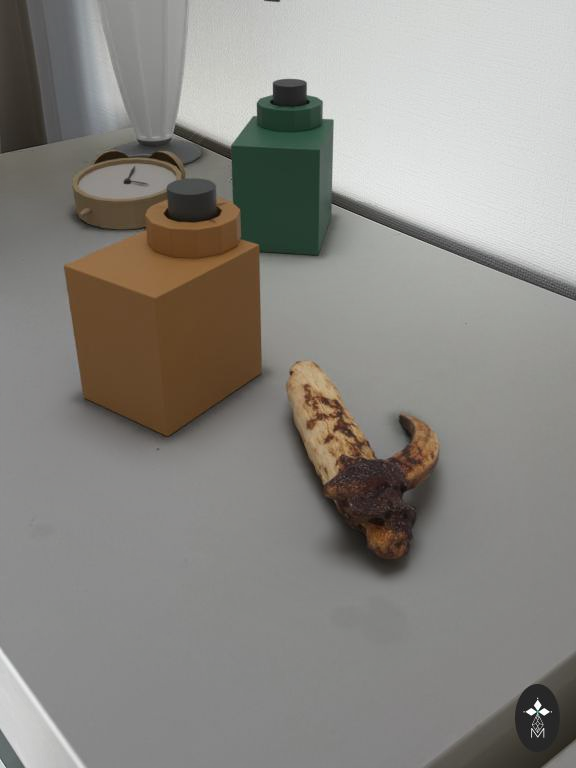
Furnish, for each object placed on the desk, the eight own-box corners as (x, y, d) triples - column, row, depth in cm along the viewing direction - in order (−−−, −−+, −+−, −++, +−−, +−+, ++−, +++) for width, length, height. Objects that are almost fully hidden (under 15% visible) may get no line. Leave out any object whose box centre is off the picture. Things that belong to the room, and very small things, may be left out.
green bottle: (257, 209, 92) (254, 92, 85) (332, 213, 90) (335, 95, 84) (234, 250, 82) (229, 122, 76) (318, 255, 81) (320, 126, 75)
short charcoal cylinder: (276, 101, 84) (275, 78, 83) (308, 102, 83) (309, 79, 82) (270, 109, 81) (269, 85, 80) (304, 110, 81) (304, 87, 80)
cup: (170, 136, 115) (157, -46, 103) (220, 157, 107) (212, -37, 96) (91, 152, 109) (68, -39, 97) (138, 175, 101) (119, -29, 90)
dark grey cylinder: (191, 205, 60) (189, 174, 58) (227, 215, 58) (225, 184, 57) (158, 219, 57) (156, 187, 56) (195, 230, 56) (193, 197, 55)
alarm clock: (57, 201, 85) (93, 132, 96) (66, 244, 88) (100, 172, 100) (171, 204, 84) (193, 133, 96) (176, 247, 88) (197, 174, 99)
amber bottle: (189, 336, 68) (179, 187, 62) (271, 367, 64) (268, 211, 58) (83, 397, 60) (58, 235, 54) (167, 437, 56) (152, 266, 50)
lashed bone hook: (500, 556, 47) (386, 382, 62) (515, 490, 45) (393, 324, 59) (336, 584, 45) (258, 396, 60) (343, 515, 43) (260, 337, 57)
